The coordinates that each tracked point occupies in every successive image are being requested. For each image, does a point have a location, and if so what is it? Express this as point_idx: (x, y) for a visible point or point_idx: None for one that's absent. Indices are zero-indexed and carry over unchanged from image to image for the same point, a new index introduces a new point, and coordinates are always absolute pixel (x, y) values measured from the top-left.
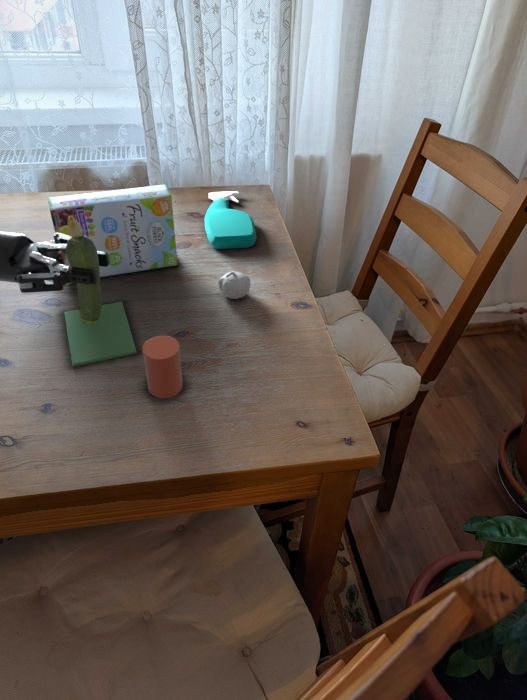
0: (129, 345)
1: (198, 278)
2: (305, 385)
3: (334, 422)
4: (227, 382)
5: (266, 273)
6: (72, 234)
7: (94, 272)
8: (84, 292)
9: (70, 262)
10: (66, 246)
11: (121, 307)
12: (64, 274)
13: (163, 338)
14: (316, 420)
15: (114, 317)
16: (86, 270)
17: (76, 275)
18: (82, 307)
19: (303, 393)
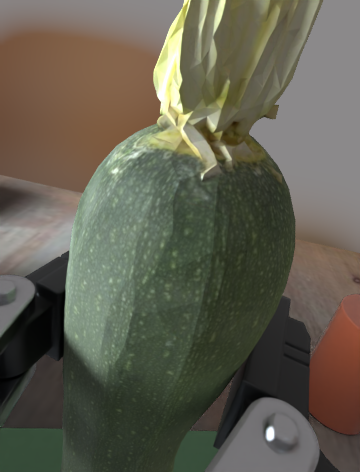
0: (209, 444)
1: (12, 265)
2: (296, 258)
3: (345, 261)
4: (303, 314)
5: (67, 210)
6: (278, 87)
7: (282, 296)
8: (172, 465)
9: (223, 366)
10: (229, 249)
11: (18, 434)
12: (319, 465)
13: (354, 309)
14: (347, 269)
15: (60, 468)
16: (279, 316)
17: (307, 382)
18: None
19: (309, 263)
